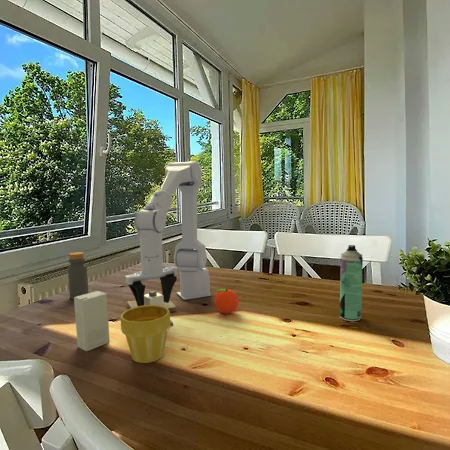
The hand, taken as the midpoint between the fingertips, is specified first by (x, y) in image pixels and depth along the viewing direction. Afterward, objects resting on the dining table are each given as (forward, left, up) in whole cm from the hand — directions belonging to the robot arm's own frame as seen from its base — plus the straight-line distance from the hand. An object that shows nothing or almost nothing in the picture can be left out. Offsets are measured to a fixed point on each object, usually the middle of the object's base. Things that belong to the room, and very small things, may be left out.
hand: (153, 305), depth 95 cm
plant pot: (+6, +18, -5) cm, 20 cm away
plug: (0, 0, -4) cm, 4 cm away
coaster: (0, 0, -5) cm, 5 cm away
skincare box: (+16, +7, -5) cm, 18 cm away
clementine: (-20, +2, -5) cm, 21 cm away
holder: (-2, -12, -5) cm, 13 cm away
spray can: (-48, +22, -5) cm, 53 cm away
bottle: (+17, -34, -5) cm, 38 cm away
